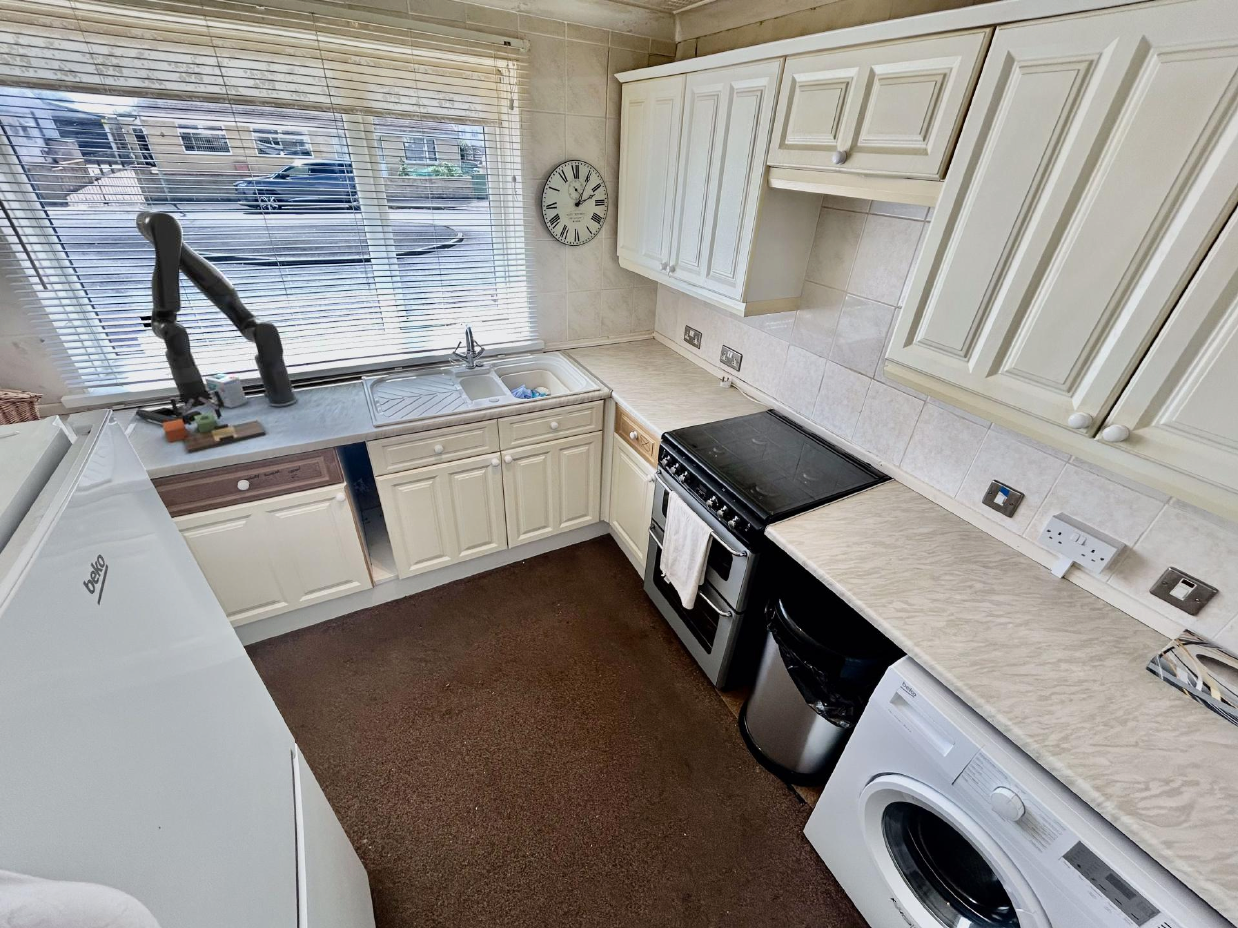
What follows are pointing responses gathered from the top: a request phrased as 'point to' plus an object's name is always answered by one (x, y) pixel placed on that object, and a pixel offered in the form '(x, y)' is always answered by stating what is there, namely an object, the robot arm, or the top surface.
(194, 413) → the black rectangular frame
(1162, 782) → the top surface
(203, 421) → the green block with hole
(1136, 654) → the top surface
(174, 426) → the orange block
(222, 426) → the jig board
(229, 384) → the light bulb box
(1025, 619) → the top surface
